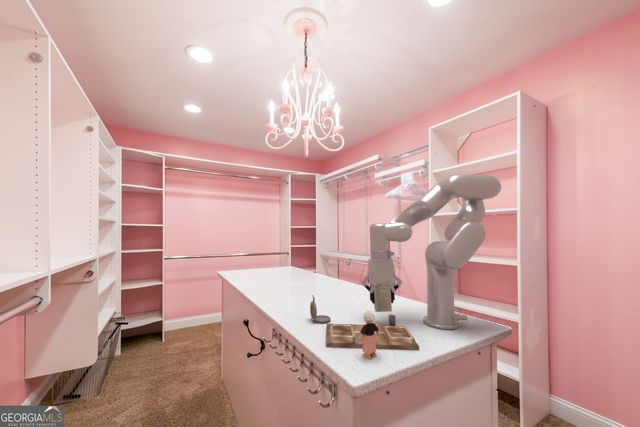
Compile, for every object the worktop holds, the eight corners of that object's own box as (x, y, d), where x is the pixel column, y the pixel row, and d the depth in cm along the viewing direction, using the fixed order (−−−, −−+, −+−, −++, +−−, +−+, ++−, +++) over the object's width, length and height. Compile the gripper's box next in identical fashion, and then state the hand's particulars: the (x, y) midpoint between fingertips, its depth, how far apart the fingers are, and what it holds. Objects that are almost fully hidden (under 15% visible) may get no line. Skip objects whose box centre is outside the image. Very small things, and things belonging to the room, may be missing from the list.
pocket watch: (333, 320, 103) (334, 294, 103) (320, 326, 96) (320, 298, 97) (318, 315, 108) (318, 291, 109) (303, 321, 102) (304, 294, 102)
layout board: (403, 329, 95) (403, 313, 96) (419, 350, 79) (419, 330, 80) (326, 326, 96) (326, 311, 96) (326, 347, 80) (326, 327, 80)
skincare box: (390, 308, 103) (389, 276, 103) (392, 312, 98) (390, 279, 99) (373, 308, 103) (372, 277, 104) (374, 312, 99) (373, 279, 99)
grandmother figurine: (371, 349, 79) (371, 306, 80) (381, 354, 76) (382, 309, 77) (354, 357, 74) (355, 312, 74) (365, 363, 71) (366, 315, 72)
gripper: (400, 253, 105) (402, 299, 104) (356, 254, 106) (358, 300, 105) (405, 255, 98) (408, 304, 97) (359, 257, 98) (360, 305, 97)
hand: (382, 302), depth 101 cm, fingers closed on skincare box, 6 cm apart
